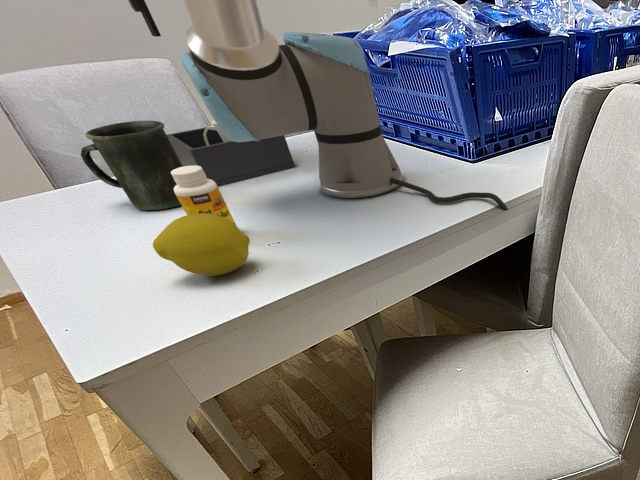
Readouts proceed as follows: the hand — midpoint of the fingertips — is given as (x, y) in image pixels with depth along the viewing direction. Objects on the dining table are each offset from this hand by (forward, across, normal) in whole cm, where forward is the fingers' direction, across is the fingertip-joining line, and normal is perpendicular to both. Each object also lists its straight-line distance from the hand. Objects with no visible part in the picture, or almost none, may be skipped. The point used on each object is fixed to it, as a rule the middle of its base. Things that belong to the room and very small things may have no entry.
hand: (197, 32), depth 84 cm
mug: (+23, +22, +11) cm, 33 cm away
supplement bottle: (+23, +19, +37) cm, 47 cm away
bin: (+22, +3, +2) cm, 23 cm away
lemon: (+23, +23, +48) cm, 59 cm away
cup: (+22, +3, +1) cm, 22 cm away
